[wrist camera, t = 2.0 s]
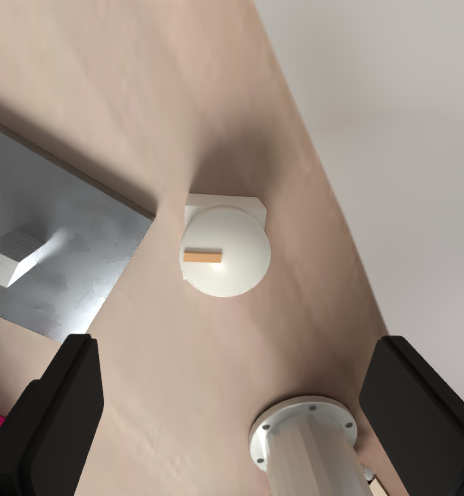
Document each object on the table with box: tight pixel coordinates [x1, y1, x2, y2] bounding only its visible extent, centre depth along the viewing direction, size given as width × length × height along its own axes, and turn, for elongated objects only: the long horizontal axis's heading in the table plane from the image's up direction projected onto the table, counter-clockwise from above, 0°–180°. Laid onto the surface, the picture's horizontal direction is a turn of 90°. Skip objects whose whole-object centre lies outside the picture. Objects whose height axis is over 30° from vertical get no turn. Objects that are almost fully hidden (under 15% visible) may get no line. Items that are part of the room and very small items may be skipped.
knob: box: [179, 193, 271, 297], centre depth 22 cm, size 6×6×6 cm
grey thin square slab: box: [0, 124, 156, 344], centre depth 22 cm, size 14×14×5 cm
